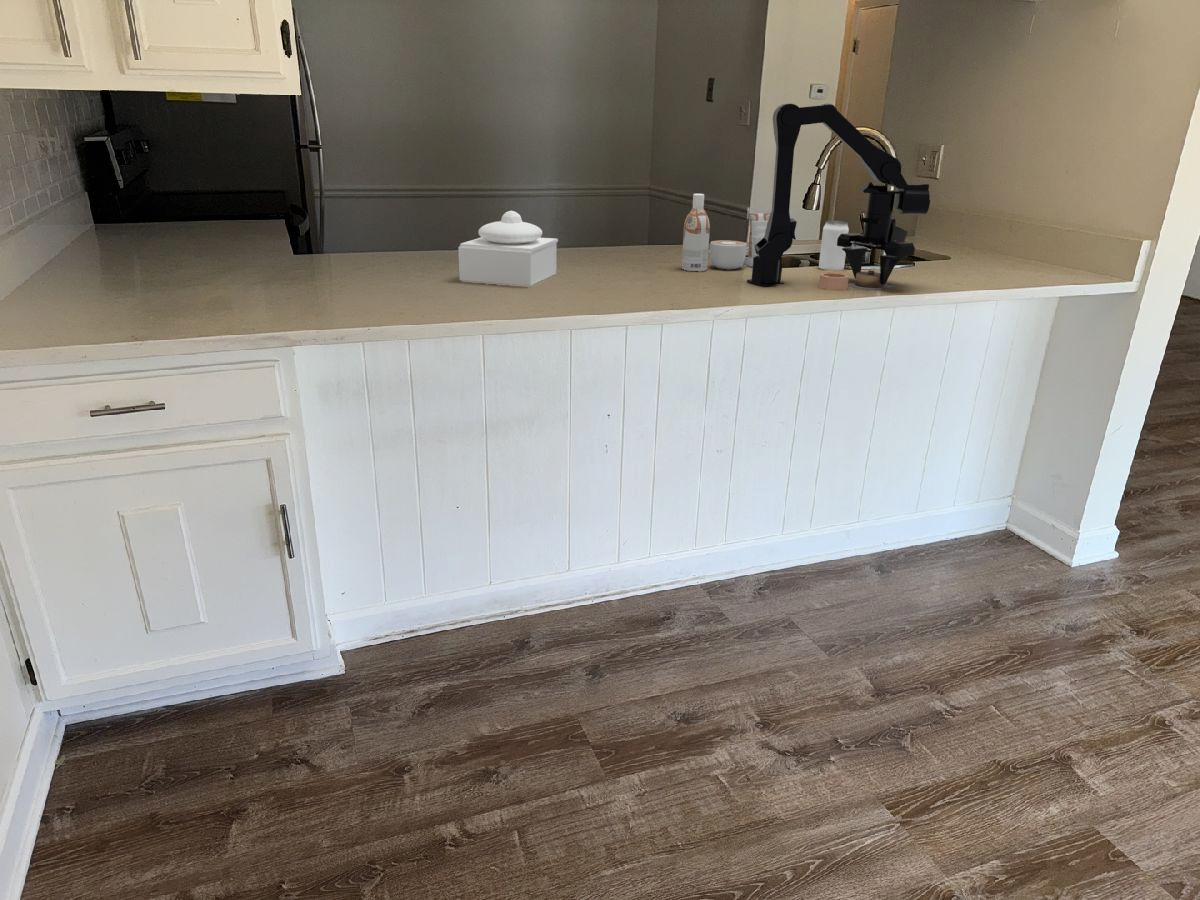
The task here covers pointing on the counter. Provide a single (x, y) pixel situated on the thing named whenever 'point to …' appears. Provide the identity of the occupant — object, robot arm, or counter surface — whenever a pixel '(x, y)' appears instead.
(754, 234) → the cosmetic set
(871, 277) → the lid
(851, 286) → the mat
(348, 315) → the counter surface
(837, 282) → the bowl
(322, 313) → the counter surface
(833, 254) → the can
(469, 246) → the white lidded container
